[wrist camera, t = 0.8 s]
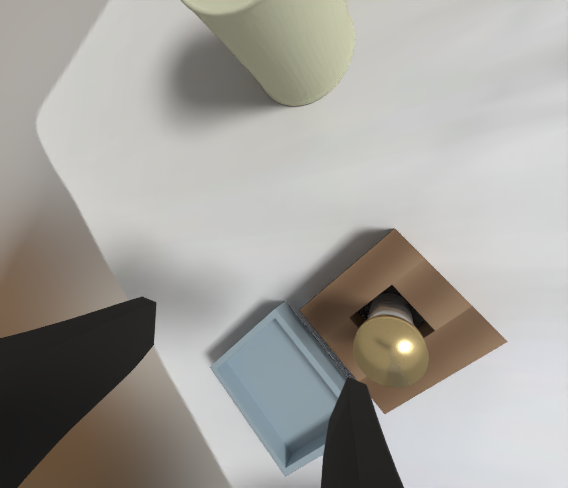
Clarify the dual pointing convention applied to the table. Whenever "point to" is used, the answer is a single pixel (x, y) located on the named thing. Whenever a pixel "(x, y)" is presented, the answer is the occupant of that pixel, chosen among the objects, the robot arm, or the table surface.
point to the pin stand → (425, 300)
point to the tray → (283, 387)
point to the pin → (390, 344)
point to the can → (285, 42)
